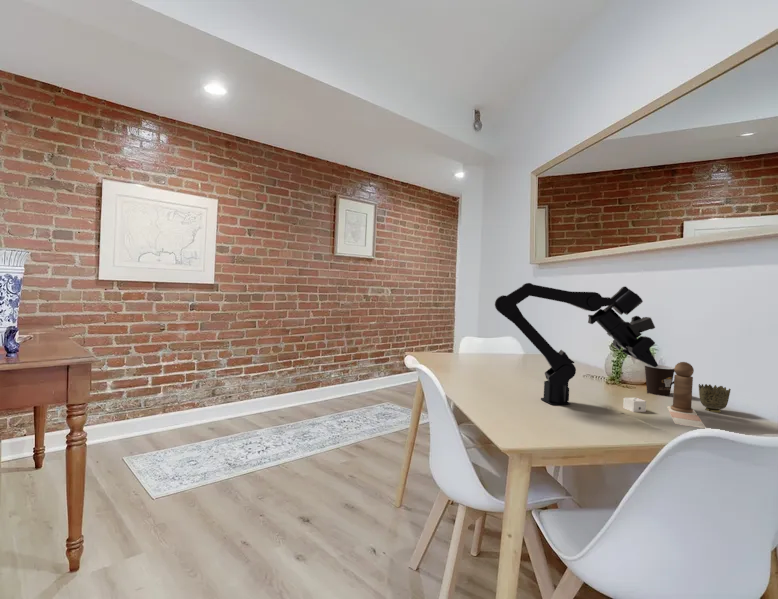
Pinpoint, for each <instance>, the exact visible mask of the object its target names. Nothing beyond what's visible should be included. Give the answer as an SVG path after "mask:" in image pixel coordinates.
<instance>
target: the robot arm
mask: <svg viewBox="0 0 778 599" xmlns="http://www.w3.org/2000/svg"><path fill="white" fill-rule="evenodd" d="M528 297H533V298H539V299H546V300H549V301H550V300H551V301H555V302H560V303H564V304H565V303H566V304H568V305H570V306H574V307H576V308H579V309H582V310H584V311H588V312H595V313H594V314H588V322H587V323H588V324H590V325H594V323H596V322H597V324H598V325H599V326H600V327H601V328H602V329H603V330H604V331H605V332H607V333H606V334H607V335H608V336H609V337H611V338H612V339H613V340H612V345H613V347H614V348H615V349H616V350H618V351H620V350H621V353H623V354H626V355H628V356H630V357H632V358H634V359H636V360H638V361H640V362H642V363H644V364H645V365H647V364H648V365H651V366H653V367H657V366H658V365H659V364H658V363H657V361H656V359H655V357H654V355H653V354H652V352H651V348H652V347H653V346H655V344H656V341H655V340H653V339H652V338H651V337H648V336H643V335H642V333H644V332H646V331H649V330H654V329H655V328H656V326H655V324H654V322H653V319H652V317H651V316H650V317H649V316H644V317H642V318H641V317H640V316H639V315H635V316H632V317H631V321H625V320H624V319H623V318H622V317H621V316H623V314H624V315H627V316H628V315H629V314H630V313H631V312H633V311H634V310H635V309H636V308H637V307H638V306H640V305H641V304H642V303H643V302H644V301H643V298H642V297H641V296H639V295H638V293H635V292H634V291H633V290H631V289H630V288H628V287H627V286H622V287H620V288H619V290H618V291H617V292H616V293H614V294H613V295H612V296H611V297H609V296H602V295H601V294H600V293H599V292H595V291H571V290H570V291H569V290H565V289H559V288H553V287H548V286H545V285H543V286H542V285H537V284H534V283H530V282H526V283H523V284H522V286H520V287H518V288H517V289H514V291H512V292H511V293H509V294H507V295H500V296H497V298H496V299H495V301H494V308H495V309H496V311H497V312H498V313H500V314H501V315H502V316H504V317H505V318H506V319H507V320H508V321H510V322H512V323H513V324H514V325H515V326H516V327H517V328H518V329H519V330H520V332H522V334H523V335H524V336H525V337H526V338H527V340H529V342H531V344H533V346H534V347H535V348H536V349H537V350H538V351H539V353H540V354H541V355H542V356H543V357H544V358H545V361H546V362H547V364H548V365H549V366H550V367H549V369H547V370H546V371H545V372H544V377H545V378H546V380H544V382H543V397H540V400H541V401H543V402H545V403H547V404H549V405H552V406H554V405H556V406H557V405H562V406H564V405H565V406H566V405H569V406H570V405H571V403H572V402H570V387H569V381H570V380H571V379H573V378H574V377H575V375H576V373H577V372H576V371H577V369H576V366H575V365H574V364H575V361H574V360H572V359H571V358H570V357H569V356H568V354H567V353H566V352H565V351H564V350H562V349H560V351H557V350H556V349H554V348H553V347H552V345H551V344H550V343H549V342H548V341H547V340H546V339H545V338H544V337H543V336H542V335H541V334H540V333H539V332H538V331H537V329H536V328H535V327H534V326H533V325H532V324H531V323H530V322H529V320H527V318H525V316H524V315H523V314H522V312H521V309H519V308H520V307H518V304H520V303H521V302H522V301H524V300H526V299H527V298H528ZM603 307H605V308H604V309H602V308H603ZM620 315H621V316H620Z"/></svg>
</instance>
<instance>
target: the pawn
mask: <svg viewBox="0 0 778 599" xmlns="http://www.w3.org/2000/svg"><path fill="white" fill-rule="evenodd" d="M673 368H674V371H675V372H674V375H673V381H674V384H673V393H672V394H673V397H672V405H671V409H672V410H674V411H678V413H679V412H683V413H685V414H686V413H692V412H693V410H694V408H693V407H692V402H693V399H692V398H693V385H694V384H693V383H694V382H693V381H694V377H693V375H694V367H693V365H691V363H689V362H687V361H679V362H677V363H676V364H675V366H674V367H673Z"/></svg>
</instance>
